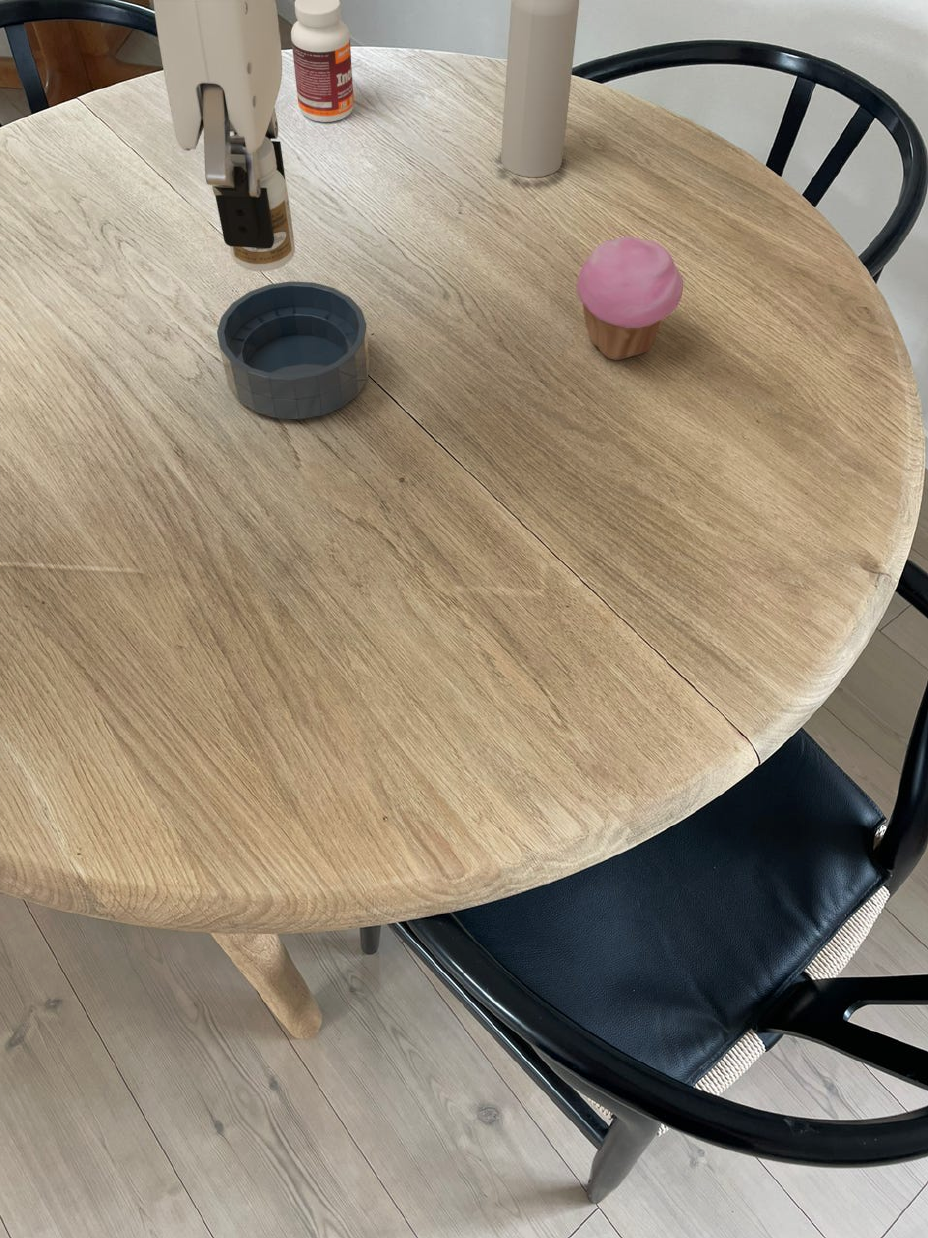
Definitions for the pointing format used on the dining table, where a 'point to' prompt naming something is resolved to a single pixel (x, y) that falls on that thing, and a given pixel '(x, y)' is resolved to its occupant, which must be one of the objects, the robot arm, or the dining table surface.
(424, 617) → the dining table surface
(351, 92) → the pill bottle
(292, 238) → the pill bottle
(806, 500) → the dining table surface
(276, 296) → the bowl
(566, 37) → the bottle
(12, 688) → the dining table surface
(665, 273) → the cupcake
